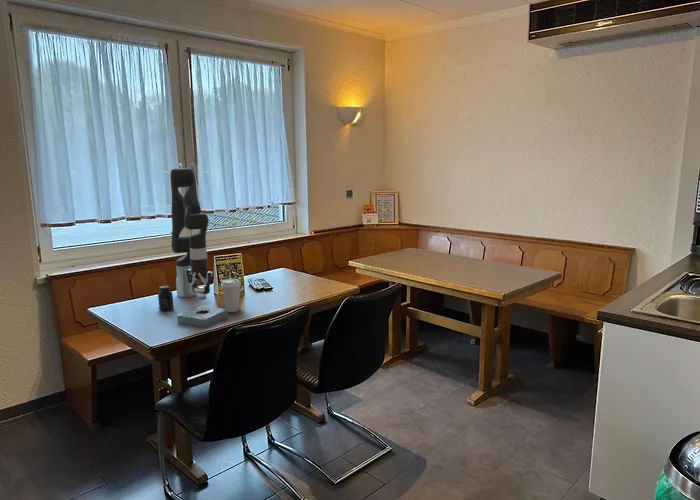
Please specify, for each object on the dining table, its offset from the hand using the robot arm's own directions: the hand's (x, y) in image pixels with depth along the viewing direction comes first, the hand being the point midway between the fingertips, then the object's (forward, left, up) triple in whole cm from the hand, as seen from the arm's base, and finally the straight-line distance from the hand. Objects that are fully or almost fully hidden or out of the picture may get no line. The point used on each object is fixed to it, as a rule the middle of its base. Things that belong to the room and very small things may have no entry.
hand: (201, 292), depth 228 cm
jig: (0, 0, -13) cm, 13 cm away
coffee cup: (+3, +18, -14) cm, 23 cm away
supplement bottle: (-28, +6, -14) cm, 32 cm away
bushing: (0, 0, -3) cm, 3 cm away
